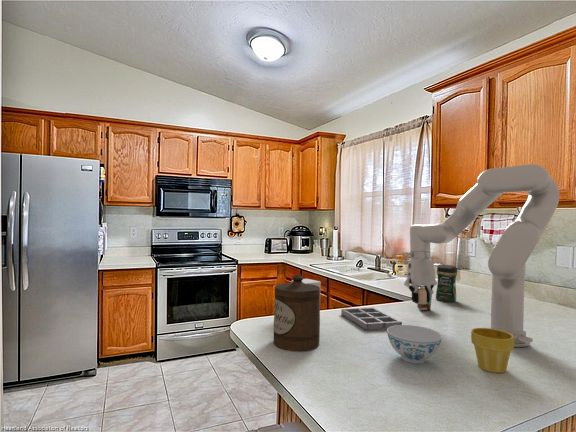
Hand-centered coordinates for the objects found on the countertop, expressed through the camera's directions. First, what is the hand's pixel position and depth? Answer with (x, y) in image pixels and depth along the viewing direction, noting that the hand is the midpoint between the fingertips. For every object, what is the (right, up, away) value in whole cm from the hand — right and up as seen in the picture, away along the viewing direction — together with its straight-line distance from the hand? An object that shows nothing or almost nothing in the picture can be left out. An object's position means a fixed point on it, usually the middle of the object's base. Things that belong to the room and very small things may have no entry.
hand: (420, 301), depth 140 cm
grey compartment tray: (-20, -8, +2) cm, 22 cm away
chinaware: (-16, -8, -37) cm, 41 cm away
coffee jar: (+30, -10, +45) cm, 55 cm away
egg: (0, -1, 0) cm, 1 cm away
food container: (+11, -10, +24) cm, 29 cm away
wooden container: (-50, -7, -26) cm, 57 cm away
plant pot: (+4, -9, -42) cm, 43 cm away
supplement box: (-46, -8, +5) cm, 47 cm away
